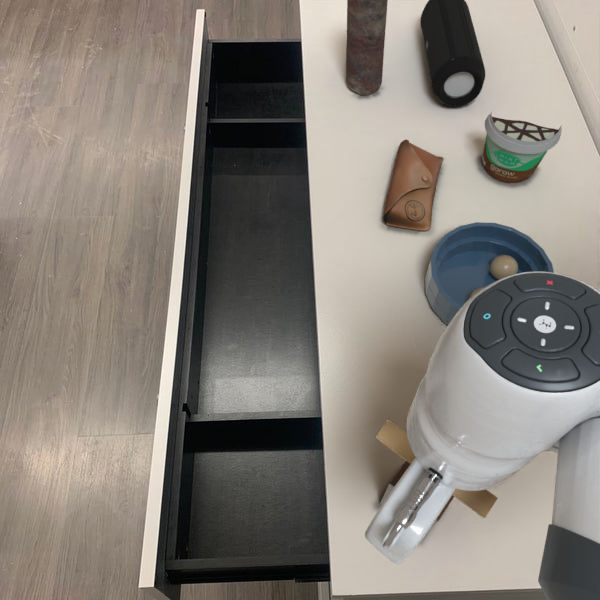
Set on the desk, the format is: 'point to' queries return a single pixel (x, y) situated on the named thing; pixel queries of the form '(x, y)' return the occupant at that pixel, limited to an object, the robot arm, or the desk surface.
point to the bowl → (475, 263)
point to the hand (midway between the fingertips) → (435, 469)
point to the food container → (515, 148)
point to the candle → (365, 44)
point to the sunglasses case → (412, 188)
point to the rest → (395, 481)
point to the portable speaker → (452, 52)
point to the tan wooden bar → (400, 445)
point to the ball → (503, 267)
